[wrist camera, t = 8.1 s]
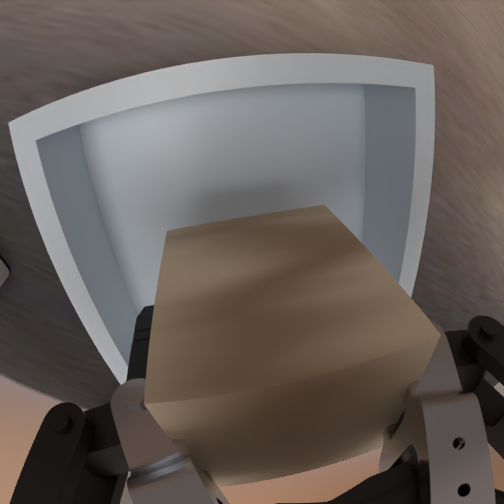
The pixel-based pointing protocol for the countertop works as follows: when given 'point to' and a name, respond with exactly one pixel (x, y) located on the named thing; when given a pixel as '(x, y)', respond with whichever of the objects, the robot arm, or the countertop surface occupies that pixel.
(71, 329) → the countertop surface
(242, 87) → the gray bin
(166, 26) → the countertop surface
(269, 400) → the maple block
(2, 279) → the container
